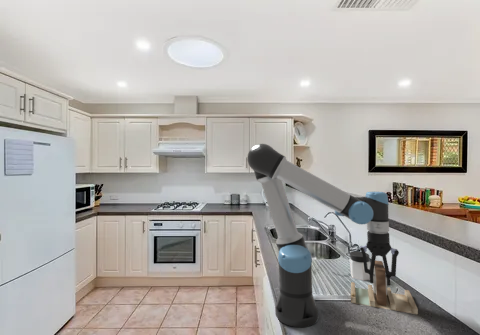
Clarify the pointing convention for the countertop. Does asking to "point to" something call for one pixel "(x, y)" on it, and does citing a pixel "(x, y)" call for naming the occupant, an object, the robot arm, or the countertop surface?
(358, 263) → the jar
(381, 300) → the wooden block
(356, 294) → the slotted rack
